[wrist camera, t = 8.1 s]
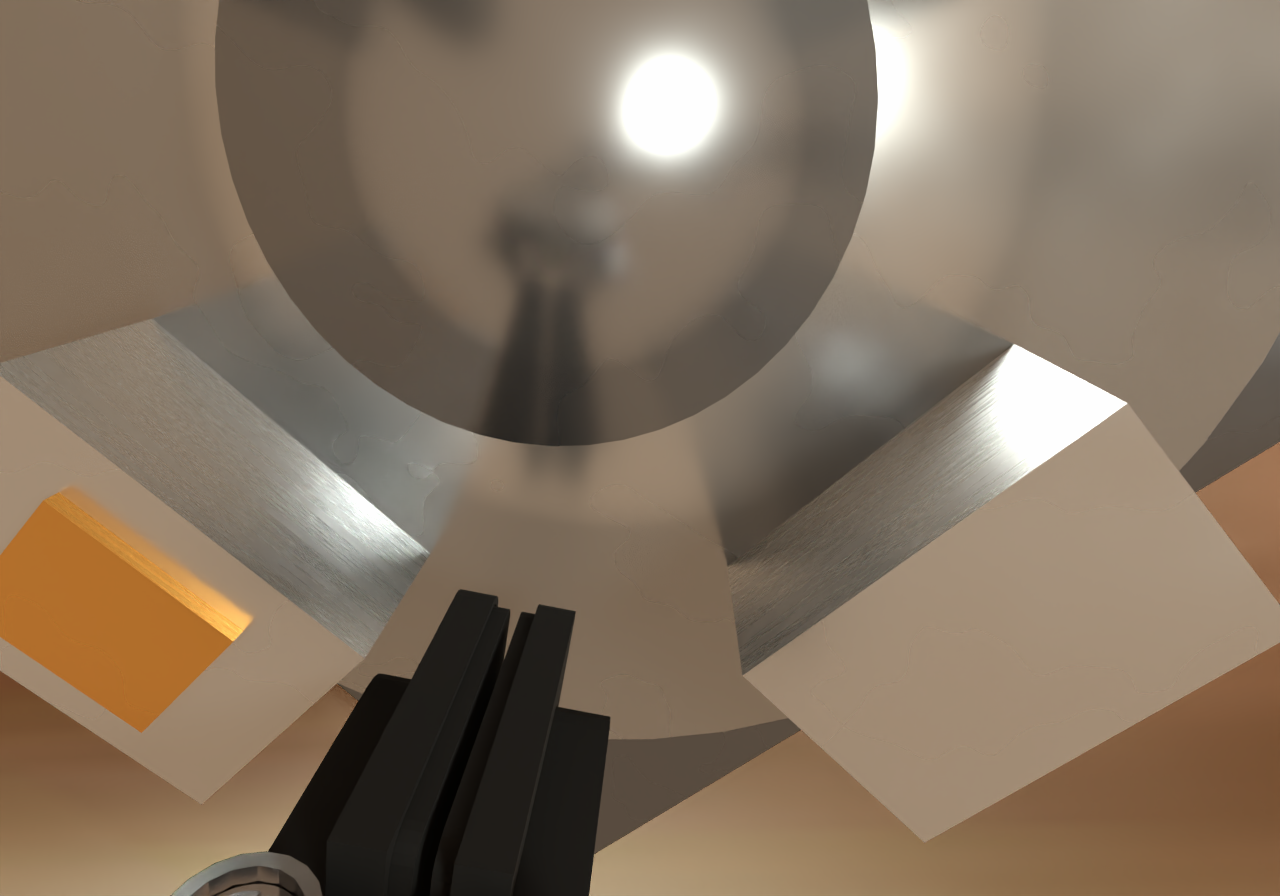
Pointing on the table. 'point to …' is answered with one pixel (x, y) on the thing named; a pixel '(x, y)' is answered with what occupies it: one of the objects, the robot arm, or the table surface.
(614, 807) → the grey square base plate
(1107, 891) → the table surface
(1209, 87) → the silver hub plate
